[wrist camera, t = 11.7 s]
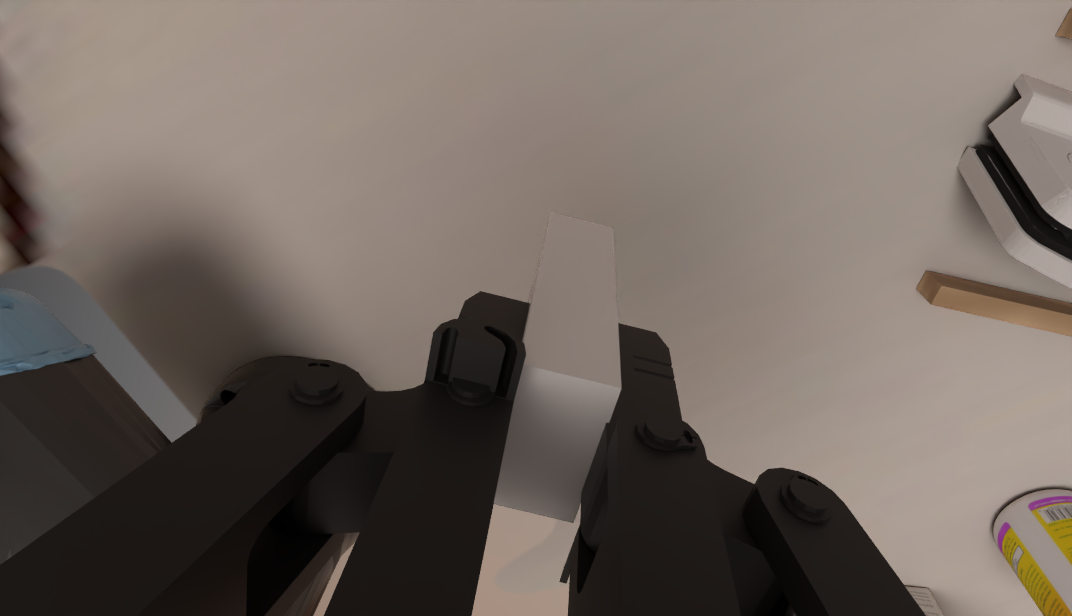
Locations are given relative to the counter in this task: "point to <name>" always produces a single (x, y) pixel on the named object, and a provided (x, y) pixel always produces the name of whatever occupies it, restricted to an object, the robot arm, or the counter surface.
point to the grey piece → (1029, 178)
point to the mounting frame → (999, 299)
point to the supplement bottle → (1040, 547)
